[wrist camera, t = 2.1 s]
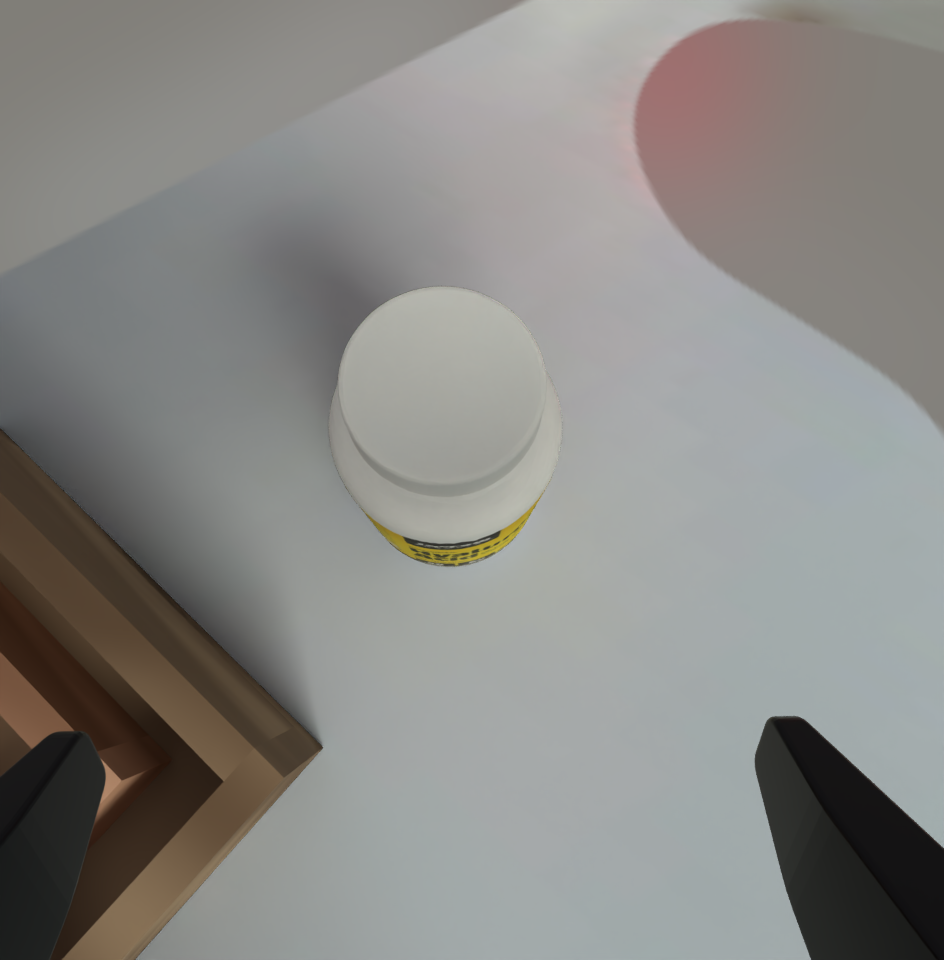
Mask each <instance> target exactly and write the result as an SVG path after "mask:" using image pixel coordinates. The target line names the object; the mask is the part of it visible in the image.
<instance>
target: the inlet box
mask: <svg viewBox="0 0 944 960" xmlns="http://www.w3.org/2000/svg"><path fill="white" fill-rule="evenodd" d="M59 731H84V732H86V733H87V734H88V735H89V736H90V738H91V740H92V742H93V744H94V746H95V748H96V750H97V752H98V754H99V756H100V758H101V761H102V763H103V765H104V767H105V772H106V781H105V787H104V791H103V794H102V798H101V802H100V805H99V809H98V812H97V816H96V819H95V823H94V826H93V830H92V833H91V837H90V840H89V844H88V847H87V851H86V854H85V858H84V862H83V865H82V869H81V872H80V876H79V879H78V883H77V886H76V889H75V893H74V896H73V899H72V902H71V905H70V908H69V911H68V914H67V916H66V919H65V922H64V925H63V927H62V930H61V932H60V935H59V937H58V940H57V943H56V945H55V948H54V950H53V953H52V955H51V958H50V960H135V959H136V958H137V957H138V955H139V954H140V953H141V952H142V951H143V950H144V949H145V948H146V946H147V945H148V944H149V943H150V942H151V941H152V940H153V939H154V937H155V936H156V935H157V934H158V933H159V932H160V931H161V930H162V928H163V927H164V926H165V925H166V924H167V923H168V922H169V921H170V919H171V918H172V917H173V916H174V915H175V914H176V913H177V912H178V910H179V909H180V908H181V907H182V906H183V905H184V904H185V903H186V901H187V900H188V899H189V898H190V897H191V896H192V895H193V894H194V892H195V891H196V890H197V889H198V888H199V887H200V886H201V885H202V883H203V882H204V881H205V880H206V879H207V878H208V877H209V876H210V874H211V873H212V872H213V871H214V870H215V869H216V868H217V867H218V865H219V864H220V863H221V862H222V861H223V860H224V859H225V858H226V856H227V855H228V854H229V853H230V852H231V851H232V850H233V849H234V847H235V846H236V845H237V844H238V843H239V842H240V841H241V840H242V838H243V837H244V836H245V835H246V834H247V833H248V832H249V831H250V829H251V828H252V827H253V826H254V825H255V824H256V823H257V822H258V820H259V819H260V818H261V817H262V816H263V815H264V814H265V813H266V811H267V810H268V809H269V808H270V807H271V806H272V805H273V804H274V802H275V801H276V800H277V799H278V798H279V797H280V796H281V795H282V793H283V792H284V791H285V790H286V789H287V788H288V787H289V786H290V784H291V783H292V782H293V781H294V780H295V779H296V778H297V777H298V775H299V774H300V773H301V772H302V771H303V770H304V769H305V768H306V766H307V765H308V764H309V763H310V762H311V761H312V760H313V759H314V757H315V756H316V755H317V754H318V753H319V752H320V751H321V750H322V748H323V747H322V746H321V745H320V744H319V743H318V742H317V741H316V740H315V739H314V738H313V737H312V736H311V735H310V734H309V733H308V732H307V731H306V730H305V729H304V728H303V727H302V726H301V725H300V724H299V723H298V722H297V721H296V720H295V719H294V718H293V717H292V716H291V715H290V714H289V713H288V712H287V711H286V710H285V709H284V708H283V707H282V706H280V705H279V704H278V703H277V702H276V701H275V700H274V699H273V698H272V697H271V696H270V695H269V694H268V693H267V692H266V691H265V690H264V689H263V688H262V687H261V686H260V685H259V684H258V683H257V682H256V681H255V680H254V679H253V678H252V677H251V676H250V675H249V674H248V673H247V672H246V671H245V670H244V669H243V668H242V667H241V666H240V665H239V664H238V663H237V662H236V661H235V660H234V659H233V658H232V657H231V656H230V655H229V654H228V653H227V652H226V651H225V650H224V649H223V648H222V647H221V646H220V645H219V644H218V643H217V642H216V641H215V640H214V639H213V638H212V637H211V636H210V635H209V634H208V633H207V632H206V631H205V630H204V629H203V628H202V627H201V626H200V625H199V624H198V623H197V622H196V621H195V620H194V619H192V618H191V617H190V616H189V615H188V614H187V613H186V612H185V611H184V610H183V609H182V608H181V607H180V606H179V605H178V604H177V603H176V602H175V601H174V600H173V599H172V598H171V597H170V596H169V595H168V594H167V593H166V592H165V591H164V590H163V589H162V588H161V587H160V586H159V585H158V584H157V583H156V582H155V581H154V580H153V579H152V578H151V577H150V576H149V575H148V574H147V573H146V572H145V571H144V570H143V569H142V568H141V567H140V566H139V565H138V564H137V563H136V562H135V561H134V560H133V559H132V558H131V557H130V556H129V555H128V554H127V553H126V552H125V551H124V550H123V549H122V548H121V547H120V546H119V545H118V544H117V543H116V542H115V541H114V540H113V539H112V538H111V537H110V536H109V535H108V534H107V533H106V532H104V531H103V530H102V529H101V528H100V527H99V526H98V525H97V524H96V523H95V522H94V521H93V520H92V519H91V518H90V517H89V516H88V515H87V514H86V513H85V512H84V511H83V510H82V509H81V508H80V507H79V506H78V505H77V504H76V503H75V502H74V501H73V500H72V499H71V498H70V497H69V496H68V495H67V494H66V493H65V492H64V491H63V490H62V489H61V488H60V487H59V486H58V485H57V484H56V483H55V482H54V481H53V480H52V479H51V478H50V477H49V476H48V475H47V474H46V473H45V472H44V471H43V470H42V469H41V468H40V467H39V466H38V465H37V464H36V463H35V462H34V461H33V460H32V459H31V458H30V457H29V456H28V455H27V454H26V453H25V452H24V451H23V450H22V449H21V448H20V447H19V446H18V445H16V444H15V443H14V442H13V441H12V440H11V439H10V438H9V437H8V436H7V435H6V434H5V433H4V432H3V431H2V430H1V429H0V776H1V775H2V774H3V773H4V772H6V771H7V770H8V769H9V768H10V767H11V766H13V765H14V764H15V763H16V762H17V761H18V760H20V759H21V758H22V757H23V756H24V755H25V754H27V753H28V752H29V751H30V750H31V749H32V748H34V747H35V746H36V745H37V744H38V743H39V742H41V741H42V740H43V739H44V738H45V737H47V736H48V735H50V734H52V733H54V732H59Z"/></svg>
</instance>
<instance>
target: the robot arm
mask: <svg viewBox="0 0 944 960" xmlns="http://www.w3.org/2000/svg"><path fill="white" fill-rule="evenodd" d="M755 770H756V775H757V779H758V783H759V787H760V790H761V794H762V798H763V802H764V806H765V810H766V814H767V818H768V822H769V826H770V830H771V834H772V838H773V842H774V846H775V850H776V854H777V857H778V861H779V865H780V869H781V873H782V877H783V880H784V884H785V887H786V891H787V894H788V897H789V900H790V903H791V906H792V909H793V911H794V914H795V917H796V920H797V922H798V925H799V928H800V931H801V933H802V936H803V939H804V942H805V944H806V947H807V950H808V953H809V955H810V958H811V960H944V848H943V847H942V846H941V845H940V844H939V843H937V842H936V841H935V840H934V839H933V838H932V837H931V836H930V835H929V834H928V833H927V832H926V831H925V830H923V829H922V828H921V827H920V826H919V825H918V824H917V823H916V822H915V821H914V820H913V819H912V818H911V817H909V816H908V815H907V814H906V813H905V812H904V811H903V810H902V809H901V808H900V807H899V806H898V805H896V804H895V803H894V802H893V801H892V800H891V799H890V798H889V797H888V796H887V795H886V794H885V793H884V792H882V791H881V790H880V789H879V788H878V787H877V786H876V785H875V784H874V783H873V782H872V781H871V780H870V779H868V778H867V777H866V776H865V775H864V774H863V773H862V772H861V771H860V770H859V769H858V768H857V767H856V766H854V765H853V764H852V763H851V762H850V761H849V760H848V759H847V758H846V757H845V756H844V755H843V754H841V753H840V752H839V751H838V750H837V749H836V748H835V747H834V746H833V745H832V744H831V743H830V742H829V741H827V740H826V739H825V738H824V737H823V736H822V735H821V734H820V733H819V732H818V731H817V730H816V729H815V728H813V727H812V726H811V725H810V724H809V723H808V722H807V721H806V720H804V719H802V718H800V717H797V716H775V717H771V718H769V719H768V720H767V722H766V724H765V727H764V730H763V733H762V736H761V739H760V742H759V745H758V748H757V751H756V754H755ZM105 781H106V772H105V767H104V765H103V763H102V761H101V758H100V756H99V754H98V752H97V750H96V748H95V746H94V744H93V742H92V740H91V738H90V736H89V735H88V734H87V733H86V732H84V731H59V732H54V733H52V734H50V735H48V736H47V737H45V738H44V739H43V740H42V741H41V742H39V743H38V744H37V745H36V746H35V747H34V748H32V749H31V750H30V751H29V752H28V753H27V754H25V755H24V756H23V757H22V758H21V759H20V760H18V761H17V762H16V763H15V764H14V765H13V766H11V767H10V768H9V769H8V770H7V771H6V772H4V773H3V774H2V775H1V776H0V960H50V958H51V955H52V953H53V950H54V948H55V945H56V943H57V940H58V937H59V935H60V932H61V930H62V927H63V925H64V922H65V919H66V916H67V914H68V911H69V908H70V905H71V902H72V899H73V896H74V893H75V889H76V886H77V883H78V879H79V876H80V872H81V869H82V865H83V862H84V858H85V854H86V851H87V847H88V844H89V840H90V837H91V833H92V830H93V826H94V823H95V819H96V816H97V812H98V809H99V805H100V802H101V798H102V794H103V791H104V787H105Z"/></svg>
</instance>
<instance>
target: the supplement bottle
mask: <svg viewBox="0 0 944 960" xmlns="http://www.w3.org/2000/svg"><path fill="white" fill-rule="evenodd" d="M329 440H330V447H331V451H332V456H333V459H334V462H335V466H336V468H337V470H338V473H339V475H340V477H341V479H342V481H343V483H344V485H345V487H346V489H347V490H348V492H349V493H350V495H351V496H352V497H353V499H354V500H355V502H356V503H357V504H358V505H359V507H360V508H361V509H362V510H363V511H364V513H365V514H366V515H367V516H368V518H369V519H370V520H371V521H372V523H373V524H374V525H375V527H376V528H377V529H378V530H379V531H380V533H381V534H382V535H383V536H384V537H385V538H386V539H387V541H388V542H389V543H390V544H391V545H393V546H394V547H395V548H396V549H397V550H399V551H400V552H402V553H403V554H405V555H407V556H408V557H410V558H413V559H415V560H417V561H420V562H423V563H426V564H429V565H434V566H441V567H459V566H466V565H471V564H474V563H477V562H480V561H483V560H485V559H487V558H489V557H491V556H493V555H495V554H496V553H498V552H499V551H501V550H502V549H503V548H504V547H506V546H507V545H508V544H509V543H510V542H511V541H512V540H513V539H514V538H515V537H516V535H517V534H518V533H519V532H520V530H521V529H522V528H523V526H524V525H525V523H526V521H527V520H528V518H529V516H530V514H531V512H532V511H533V509H534V508H535V506H536V504H537V502H538V501H539V499H540V497H541V496H542V494H543V492H544V491H545V489H546V487H547V486H548V484H549V482H550V480H551V478H552V475H553V472H554V469H555V467H556V464H557V460H558V457H559V453H560V448H561V443H562V414H561V408H560V404H559V399H558V395H557V393H556V390H555V387H554V385H553V383H552V380H551V378H550V376H549V375H548V373H547V371H546V370H545V366H544V362H543V358H542V354H541V352H540V350H539V347H538V345H537V342H536V341H535V339H534V337H533V336H532V334H531V333H530V331H529V330H528V328H527V327H526V326H525V324H524V323H523V322H522V321H521V320H520V319H519V317H518V316H516V315H515V314H514V313H513V312H512V311H511V310H510V309H508V308H507V307H506V306H504V305H503V304H501V303H500V302H498V301H496V300H494V299H492V298H490V297H488V296H486V295H484V294H481V293H479V292H476V291H473V290H469V289H465V288H458V287H452V286H436V287H426V288H421V289H416V290H413V291H409V292H406V293H404V294H401V295H399V296H396V297H394V298H392V299H390V300H389V301H387V302H385V303H383V304H382V305H381V306H379V307H378V308H377V309H375V310H374V311H373V312H372V313H371V314H369V315H368V316H367V317H366V319H365V320H364V321H363V322H362V323H361V324H360V325H359V326H358V328H357V329H356V331H355V332H354V334H353V335H352V337H351V338H350V340H349V342H348V344H347V346H346V348H345V350H344V353H343V356H342V359H341V363H340V367H339V372H338V384H337V387H336V389H335V392H334V395H333V399H332V403H331V407H330V415H329Z"/></svg>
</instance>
